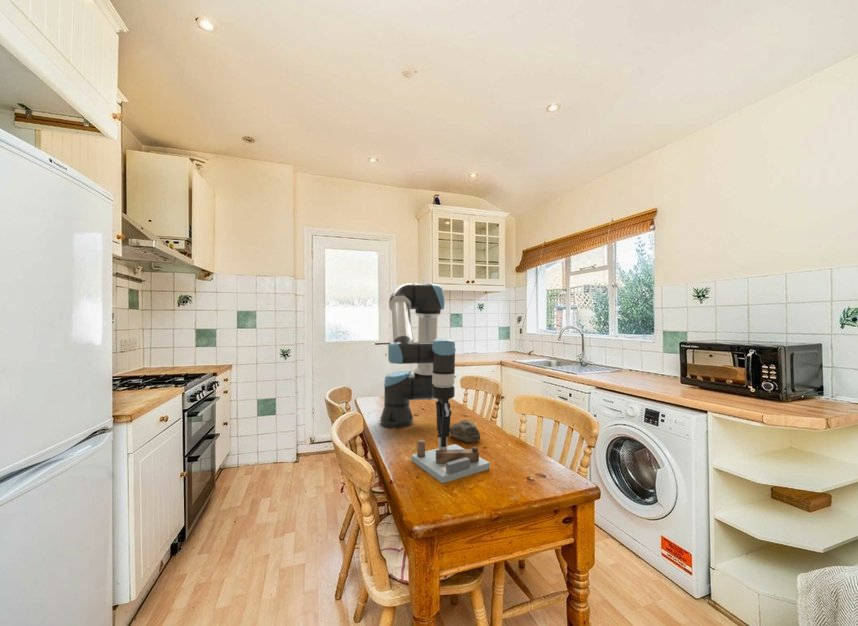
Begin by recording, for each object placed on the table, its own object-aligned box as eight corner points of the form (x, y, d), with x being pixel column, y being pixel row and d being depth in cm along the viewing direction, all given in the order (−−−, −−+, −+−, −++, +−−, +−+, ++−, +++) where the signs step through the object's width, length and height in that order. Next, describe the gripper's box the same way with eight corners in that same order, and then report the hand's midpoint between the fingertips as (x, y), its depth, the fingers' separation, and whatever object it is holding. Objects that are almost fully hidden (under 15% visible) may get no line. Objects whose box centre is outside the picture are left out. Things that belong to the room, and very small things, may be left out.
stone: (442, 425, 147) (458, 408, 148) (458, 440, 149) (474, 422, 150) (452, 440, 134) (469, 420, 135) (469, 455, 136) (486, 436, 137)
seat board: (411, 460, 120) (411, 440, 120) (455, 449, 130) (455, 430, 130) (442, 483, 104) (442, 460, 104) (489, 468, 114) (490, 447, 114)
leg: (436, 462, 113) (436, 450, 113) (435, 458, 116) (435, 446, 116) (478, 461, 114) (478, 449, 114) (476, 457, 117) (477, 446, 117)
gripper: (459, 389, 111) (458, 462, 111) (449, 381, 124) (448, 446, 124) (436, 390, 110) (435, 464, 110) (428, 381, 122) (428, 448, 122)
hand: (442, 455), depth 117 cm, fingers closed
